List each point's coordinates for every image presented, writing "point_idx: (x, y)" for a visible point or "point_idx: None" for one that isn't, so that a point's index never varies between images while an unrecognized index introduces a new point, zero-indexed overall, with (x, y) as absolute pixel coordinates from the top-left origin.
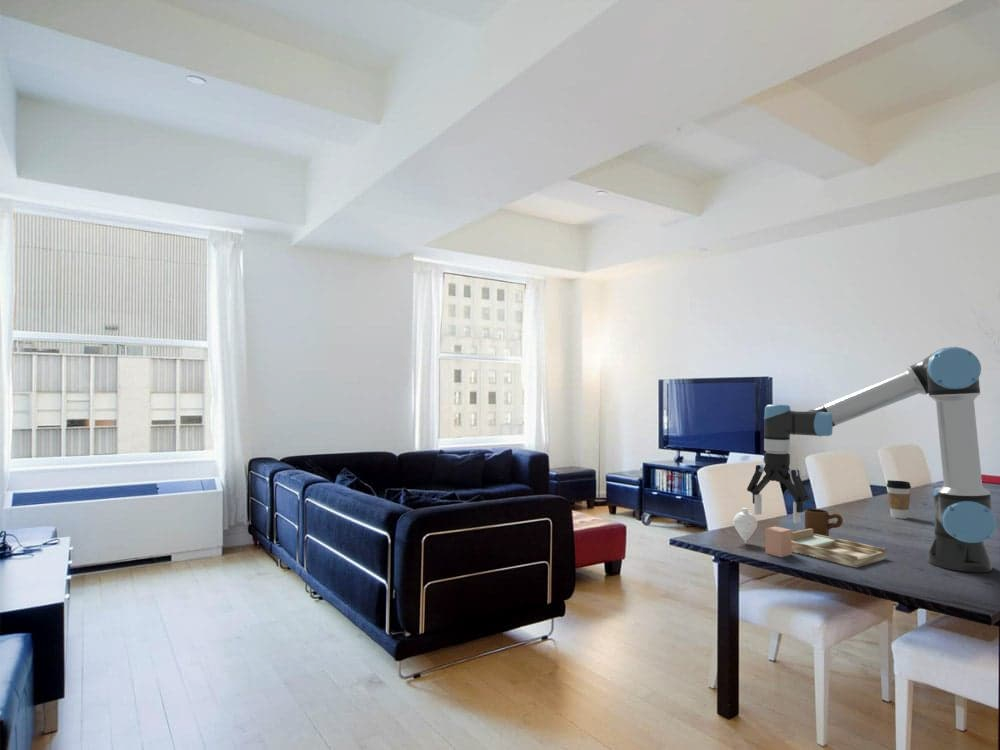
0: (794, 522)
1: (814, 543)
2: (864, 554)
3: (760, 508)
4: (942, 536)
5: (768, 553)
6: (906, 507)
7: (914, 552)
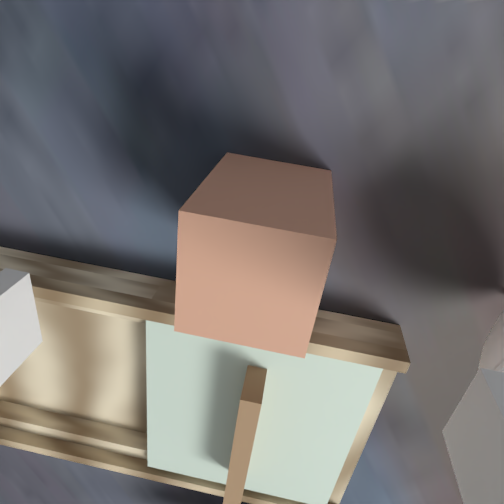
0: (10, 272)
1: (161, 376)
2: (35, 397)
3: (470, 482)
4: None
5: (310, 167)
6: None
7: (18, 499)
